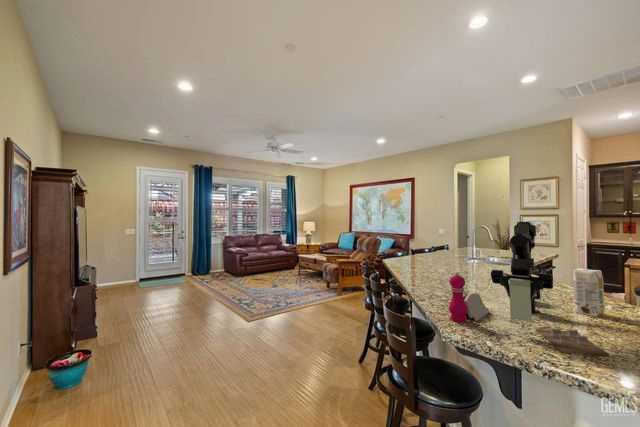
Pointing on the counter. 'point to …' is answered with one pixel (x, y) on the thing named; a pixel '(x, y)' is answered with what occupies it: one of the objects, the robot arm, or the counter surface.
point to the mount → (571, 342)
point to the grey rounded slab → (475, 306)
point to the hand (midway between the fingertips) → (520, 298)
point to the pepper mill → (457, 299)
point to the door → (520, 299)
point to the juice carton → (588, 292)
